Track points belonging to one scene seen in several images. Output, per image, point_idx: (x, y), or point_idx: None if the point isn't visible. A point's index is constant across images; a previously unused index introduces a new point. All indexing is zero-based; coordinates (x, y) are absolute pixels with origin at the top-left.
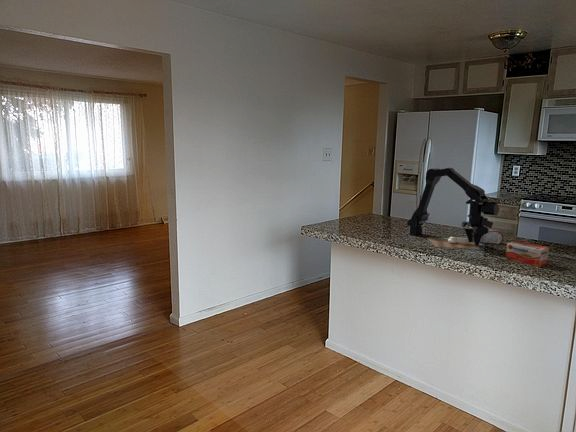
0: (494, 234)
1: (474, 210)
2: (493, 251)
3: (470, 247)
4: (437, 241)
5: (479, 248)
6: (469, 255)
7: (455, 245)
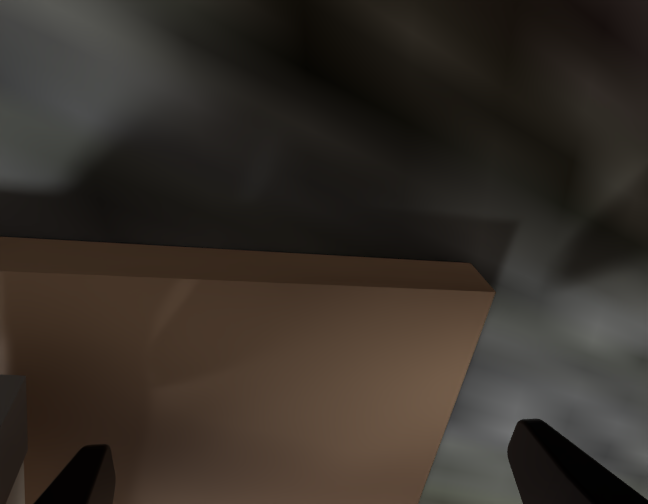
0: None
1: None
2: None
3: (368, 448)
4: None
5: (462, 311)
6: (642, 484)
7: None
